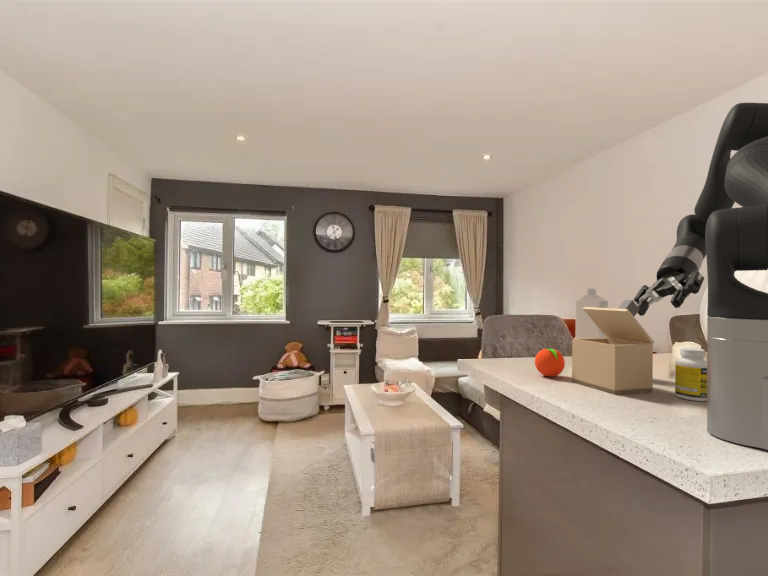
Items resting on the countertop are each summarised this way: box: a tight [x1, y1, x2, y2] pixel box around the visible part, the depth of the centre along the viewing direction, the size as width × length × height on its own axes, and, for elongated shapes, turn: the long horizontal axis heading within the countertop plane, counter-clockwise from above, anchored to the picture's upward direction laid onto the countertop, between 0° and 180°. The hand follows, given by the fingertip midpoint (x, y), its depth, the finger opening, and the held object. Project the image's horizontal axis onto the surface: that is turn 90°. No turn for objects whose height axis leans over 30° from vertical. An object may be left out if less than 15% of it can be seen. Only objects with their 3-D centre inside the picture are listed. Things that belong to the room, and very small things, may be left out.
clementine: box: [534, 347, 566, 378], centre depth 99 cm, size 8×7×7 cm
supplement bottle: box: [674, 347, 707, 402], centre depth 80 cm, size 5×5×10 cm
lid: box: [583, 299, 655, 345], centre depth 91 cm, size 12×10×7 cm
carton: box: [571, 338, 654, 395], centre depth 89 cm, size 12×10×10 cm
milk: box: [574, 288, 609, 339], centre depth 106 cm, size 6×6×22 cm
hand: (656, 309), depth 93 cm, fingers open, 8 cm apart
